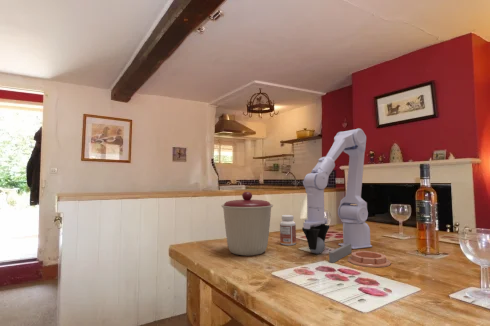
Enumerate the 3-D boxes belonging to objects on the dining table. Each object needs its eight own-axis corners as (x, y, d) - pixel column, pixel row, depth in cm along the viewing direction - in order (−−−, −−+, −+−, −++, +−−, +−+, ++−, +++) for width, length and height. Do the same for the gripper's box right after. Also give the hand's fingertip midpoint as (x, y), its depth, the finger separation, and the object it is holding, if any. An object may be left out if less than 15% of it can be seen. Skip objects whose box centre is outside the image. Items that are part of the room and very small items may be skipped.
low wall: (348, 252, 101) (347, 243, 101) (351, 252, 100) (351, 243, 100) (329, 262, 88) (329, 252, 88) (333, 263, 88) (332, 252, 88)
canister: (226, 261, 91) (225, 193, 92) (218, 248, 108) (218, 191, 110) (281, 257, 95) (280, 192, 96) (264, 245, 112) (264, 190, 114)
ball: (318, 250, 103) (317, 235, 103) (328, 254, 98) (328, 237, 98) (305, 252, 101) (304, 236, 101) (314, 256, 96) (314, 239, 96)
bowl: (368, 255, 97) (367, 248, 97) (399, 264, 86) (399, 257, 86) (339, 259, 92) (339, 252, 92) (369, 269, 81) (368, 262, 81)
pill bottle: (291, 241, 119) (290, 214, 119) (299, 244, 113) (298, 216, 114) (277, 243, 117) (277, 215, 117) (284, 246, 111) (284, 216, 111)
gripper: (314, 205, 109) (315, 242, 108) (294, 208, 97) (295, 249, 96) (332, 206, 104) (333, 245, 103) (314, 209, 93) (315, 253, 92)
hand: (316, 247), depth 100 cm, fingers closed on ball, 5 cm apart
